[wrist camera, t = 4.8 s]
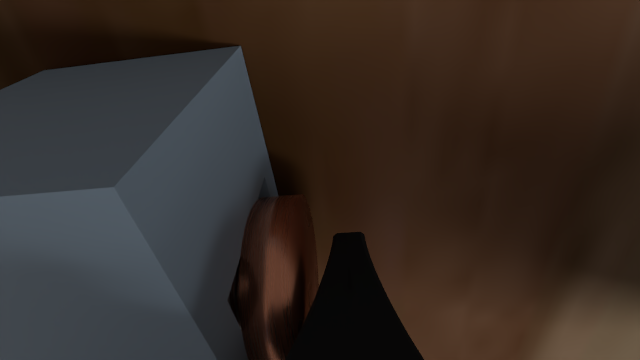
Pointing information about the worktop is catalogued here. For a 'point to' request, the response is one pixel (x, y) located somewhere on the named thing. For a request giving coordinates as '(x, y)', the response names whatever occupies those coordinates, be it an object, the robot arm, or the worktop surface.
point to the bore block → (127, 208)
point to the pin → (275, 276)
